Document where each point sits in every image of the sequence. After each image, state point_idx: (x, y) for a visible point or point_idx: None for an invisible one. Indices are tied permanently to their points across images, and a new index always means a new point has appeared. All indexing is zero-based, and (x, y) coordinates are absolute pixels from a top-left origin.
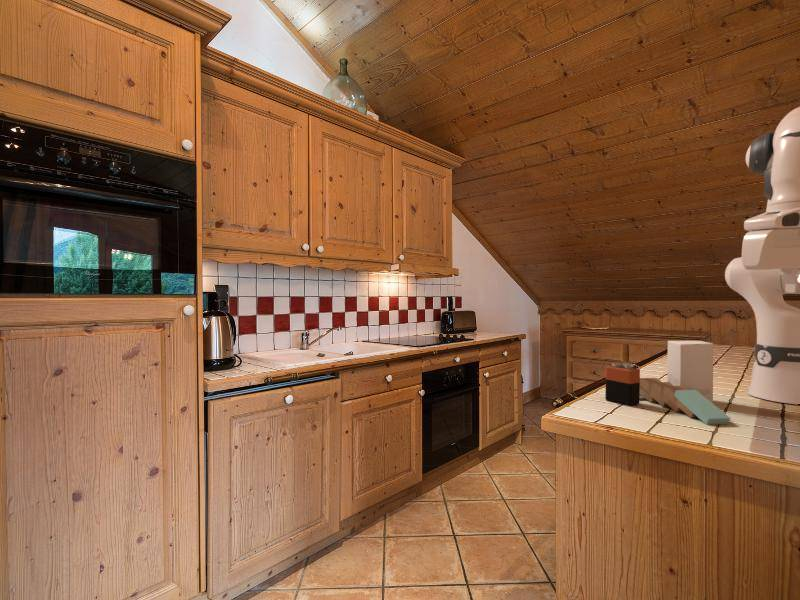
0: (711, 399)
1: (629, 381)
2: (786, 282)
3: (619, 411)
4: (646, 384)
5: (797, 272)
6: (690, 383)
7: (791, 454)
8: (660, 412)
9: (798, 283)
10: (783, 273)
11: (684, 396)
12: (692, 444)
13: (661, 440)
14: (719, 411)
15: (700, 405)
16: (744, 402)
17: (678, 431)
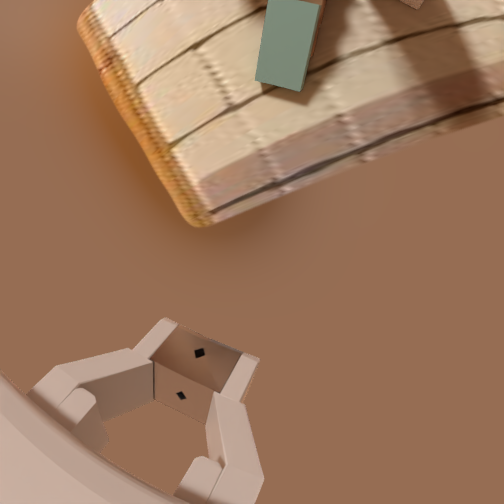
0: (416, 5)
1: None
2: (123, 357)
3: None
4: None
5: (100, 443)
6: None
7: (239, 210)
8: (250, 6)
9: (155, 398)
10: (56, 385)
11: (268, 16)
12: (151, 138)
13: (128, 116)
14: (298, 71)
15: (275, 47)
16: (489, 41)
17: (180, 91)
